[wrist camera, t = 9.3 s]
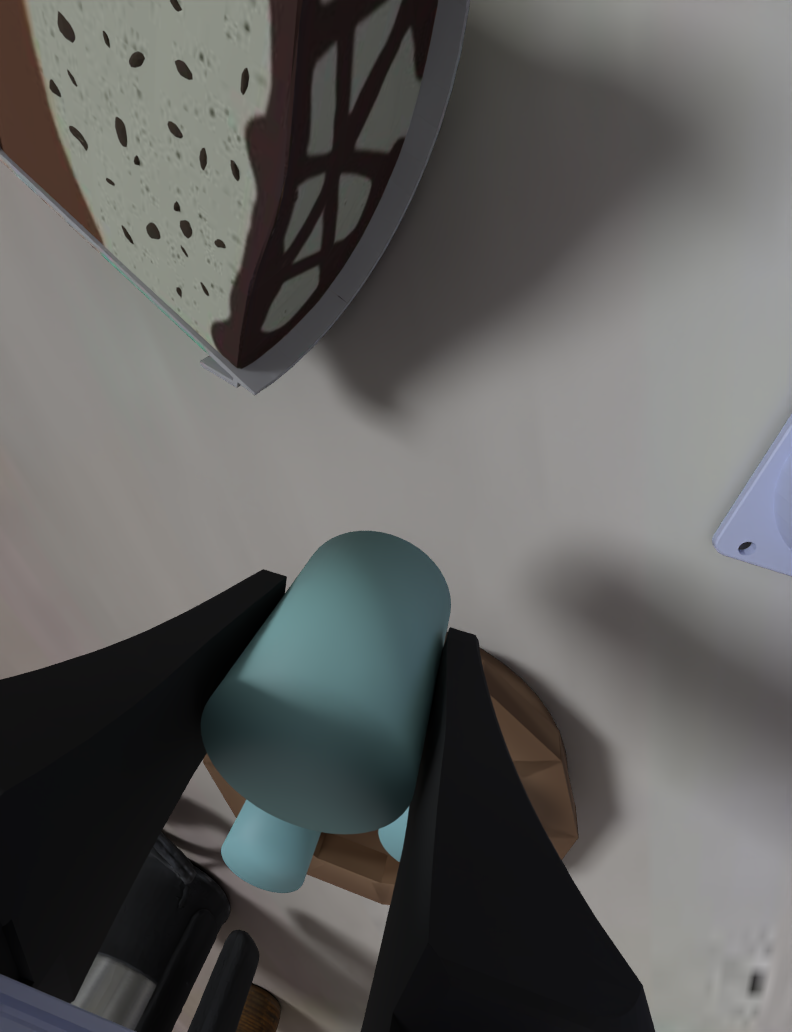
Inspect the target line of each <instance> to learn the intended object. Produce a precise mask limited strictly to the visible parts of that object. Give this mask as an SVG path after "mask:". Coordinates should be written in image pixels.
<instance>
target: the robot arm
mask: <svg viewBox="0 0 792 1032" xmlns="http://www.w3.org/2000/svg"><path fill="white" fill-rule="evenodd" d="M745 542H751V545H750V546H749V547H748V548H746V549H743V550H741V549H738V548H739V546H740V545H741V544H742V543H745ZM712 543H713V545H714V547H715V548H716V550H717V551H718V552H719V553H720V554H722V555H725V556H728V557H731V558H734V559H737V560H741V561H744V562H747V563H750V564H754V565H757V566H760V567H763V568H766V569H770V570H773V571H776V572H779V573H783V574H786V575H789V576H792V414H791V416H790V417H789V419H788V420H787V422H786V423H785V425H784V426H783V428H782V430H781V431H780V433H779V434H778V436H777V437H776V439H775V440H774V442H773V444H772V445H771V447H770V448H769V450H768V451H767V453H766V454H765V456H764V458H763V459H762V461H761V462H760V464H759V465H758V467H757V468H756V470H755V472H754V473H753V475H752V476H751V478H750V479H749V481H748V482H747V484H746V486H745V487H744V489H743V490H742V492H741V493H740V495H739V496H738V498H737V500H736V501H735V503H734V504H733V506H732V507H731V509H730V510H729V512H728V514H727V515H726V517H725V518H724V520H723V521H722V523H721V524H720V526H719V527H718V529H717V531H716V532H715V534H714V536H713V538H712ZM286 579H287V577H286V576H283V575H280V574H277V573H273V572H270V571H267V570H264V569H263V570H261V571H259V572H257V573H256V574H254V575H252V576H250V577H248V578H247V579H245V580H243V581H241V582H240V583H238V584H236V585H234V586H232V587H231V588H229V589H227V590H225V591H224V592H222V593H220V594H218V595H217V596H215V597H213V598H211V599H209V600H207V601H205V602H204V603H202V604H200V605H198V606H196V607H194V608H192V609H191V610H189V611H187V612H185V613H183V614H181V615H179V616H177V617H175V618H172V619H170V620H168V621H166V622H164V623H162V624H160V625H158V626H156V627H154V628H152V629H150V630H147V631H145V632H143V633H140V634H138V635H136V636H133V637H131V638H129V639H126V640H123V641H121V642H118V643H116V644H113V645H111V646H108V647H105V648H103V649H100V650H97V651H95V652H92V653H89V654H86V655H82V656H79V657H76V658H73V659H70V660H67V661H64V662H61V663H58V664H55V665H51V666H48V667H45V668H42V669H39V670H35V671H31V672H28V673H24V674H20V675H17V676H13V677H9V678H5V679H1V680H0V1032H136V1031H133V1030H131V1029H129V1028H126V1027H124V1026H122V1025H119V1024H117V1023H115V1022H112V1021H110V1020H107V1019H105V1018H103V1017H100V1016H98V1015H96V1014H93V1013H91V1012H89V1011H86V1010H84V1009H82V1008H79V1007H77V1006H75V1005H72V1004H70V1003H71V1002H73V1001H74V1000H75V998H76V996H77V994H78V992H79V990H80V988H81V986H82V984H83V982H84V980H85V978H86V976H87V974H88V972H89V970H90V968H91V966H92V964H93V962H94V960H95V958H96V956H97V954H98V952H99V950H100V948H101V946H102V944H103V942H104V940H105V938H106V936H107V934H108V932H109V930H110V928H111V926H112V924H113V922H114V920H115V918H116V916H117V914H118V912H119V910H120V908H121V906H122V904H123V902H124V900H125V899H126V897H127V895H128V893H129V891H130V889H131V887H132V885H133V883H134V881H135V879H136V878H137V876H138V874H139V872H140V870H141V868H142V866H143V864H144V862H145V860H146V859H147V857H148V855H149V853H150V851H151V849H152V848H153V846H154V844H155V842H156V840H157V838H158V837H159V835H160V833H161V831H162V829H163V827H164V826H165V824H166V822H167V820H168V818H169V816H170V815H171V813H172V811H173V809H174V808H175V806H176V804H177V802H178V800H179V799H180V797H181V795H182V793H183V792H184V790H185V788H186V786H187V785H188V783H189V781H190V779H191V778H192V776H193V774H194V772H195V771H196V769H197V768H198V766H199V765H200V763H201V761H202V760H203V758H204V757H205V755H206V754H207V752H206V749H205V747H204V744H203V740H202V735H201V718H202V713H203V710H204V707H205V705H206V703H207V702H208V700H209V698H210V697H211V696H212V694H213V693H214V691H215V690H216V689H217V687H218V686H219V684H220V683H221V682H222V680H223V679H224V678H225V676H226V675H227V673H228V672H229V671H230V669H231V668H232V666H233V665H234V664H235V662H236V661H237V660H238V658H239V657H240V655H241V654H242V653H243V651H244V650H245V648H246V647H247V646H248V644H249V643H250V642H251V640H252V639H253V637H254V636H255V635H256V633H257V632H258V630H259V629H260V628H261V626H262V625H263V623H264V622H265V621H266V619H267V618H268V617H269V615H270V614H271V612H272V611H273V610H274V608H275V607H276V605H277V604H278V603H279V601H280V600H281V599H282V597H283V596H284V594H285V587H286ZM361 1032H655V1029H654V1025H653V1022H652V1018H651V1014H650V1011H649V1007H648V1003H647V1000H646V996H645V992H644V989H643V985H642V984H641V982H640V981H639V979H638V978H637V976H636V975H635V974H634V972H633V971H632V969H631V968H630V966H629V965H628V963H627V962H626V961H625V959H624V958H623V956H622V955H621V953H620V952H619V950H618V949H617V948H616V946H615V945H614V943H613V942H612V940H611V939H610V938H609V936H608V935H607V933H606V932H605V930H604V929H603V927H602V926H601V925H600V923H599V921H598V920H597V918H596V917H595V915H594V914H593V912H592V910H591V909H590V907H589V906H588V904H587V902H586V901H585V899H584V898H583V896H582V894H581V893H580V891H579V889H578V888H577V886H576V885H575V883H574V881H573V880H572V878H571V876H570V874H569V873H568V871H567V869H566V867H565V865H564V864H563V862H562V860H561V858H560V857H559V855H558V853H557V851H556V849H555V848H554V846H553V844H552V842H551V840H550V839H549V837H548V835H547V833H546V831H545V830H544V828H543V826H542V824H541V822H540V820H539V818H538V816H537V814H536V812H535V810H534V808H533V806H532V804H531V802H530V800H529V797H528V795H527V793H526V791H525V789H524V786H523V784H522V782H521V780H520V778H519V775H518V773H517V771H516V768H515V766H514V763H513V761H512V758H511V756H510V753H509V751H508V748H507V745H506V742H505V740H504V737H503V734H502V732H501V729H500V726H499V723H498V720H497V717H496V713H495V710H494V707H493V703H492V700H491V697H490V693H489V690H488V686H487V682H486V678H485V674H484V670H483V665H482V660H481V655H480V648H479V640H478V639H477V637H476V635H473V634H470V633H467V632H464V631H460V630H457V629H454V628H451V627H450V628H449V631H448V634H447V637H446V640H445V643H444V646H443V650H442V655H441V659H440V664H439V669H438V674H437V679H436V685H435V692H434V697H433V702H432V707H431V712H430V717H429V722H428V727H427V732H426V737H425V742H424V747H423V752H422V757H421V762H420V767H419V772H418V777H417V782H416V787H415V791H414V795H413V799H412V801H411V803H410V805H409V812H408V819H407V826H406V832H405V838H404V844H403V849H402V854H401V859H400V863H399V868H398V872H397V877H396V881H395V886H394V890H393V895H392V899H391V903H390V908H389V912H388V917H387V921H386V926H385V930H384V934H383V939H382V943H381V948H380V952H379V956H378V961H377V965H376V969H375V974H374V978H373V982H372V987H371V991H370V995H369V1000H368V1004H367V1008H366V1012H365V1017H364V1021H363V1025H362V1029H361Z"/></svg>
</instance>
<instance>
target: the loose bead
mask: <svg viewBox="0 0 792 1032" xmlns="http://www.w3.org/2000/svg"><path fill="white" fill-rule="evenodd" d="M450 610H451V599H450V593H449V589H448V586H447V583H446V581H445V578H444V577H443V575H442V573H441V571H440V570H439V568H438V567H437V566H436V564H435V563H434V562H433V561H432V560H431V559H430V558H429V557H428V556H427V555H426V554H425V553H424V552H423V551H421V550H420V549H419V548H417V547H416V546H414V545H413V544H411V543H409V542H407V541H405V540H403V539H401V538H399V537H396V536H393V535H391V534H386V533H382V532H376V531H355V532H349V533H345V534H341V535H339V536H336V537H334V538H332V539H330V540H329V541H327V542H325V543H324V544H323V545H322V546H321V547H319V548H318V550H317V551H316V552H315V553H314V554H313V556H312V557H311V558H310V560H309V561H308V563H307V564H306V565H305V567H304V568H303V569H302V571H301V572H300V574H299V575H298V576H297V578H296V579H295V581H294V582H293V583H292V585H291V586H290V587H289V589H288V590H287V592H286V593H285V594H284V596H283V597H282V599H281V600H280V601H279V603H278V604H277V605H276V607H275V608H274V610H273V611H272V612H271V614H270V615H269V617H268V618H267V619H266V621H265V622H264V623H263V625H262V626H261V628H260V629H259V630H258V632H257V633H256V635H255V636H254V637H253V639H252V640H251V642H250V643H249V644H248V646H247V647H246V648H245V650H244V651H243V653H242V654H241V655H240V657H239V658H238V660H237V661H236V662H235V664H234V665H233V666H232V668H231V669H230V671H229V672H228V673H227V675H226V676H225V678H224V679H223V680H222V682H221V683H220V684H219V686H218V687H217V689H216V690H215V691H214V693H213V694H212V696H211V697H210V698H209V700H208V702H207V703H206V705H205V707H204V710H203V713H202V718H201V735H202V740H203V744H204V747H205V749H206V752H207V754H208V756H209V758H210V760H211V762H212V763H213V765H214V766H215V768H216V769H217V771H218V772H219V773H220V775H221V776H222V777H223V778H224V779H225V780H226V782H227V783H228V784H229V785H230V786H231V787H232V788H233V789H234V790H235V791H237V792H238V793H239V794H240V795H241V796H243V797H244V798H245V799H246V800H248V801H249V802H251V803H252V804H254V805H255V806H256V807H258V808H260V809H261V810H263V811H265V812H266V813H268V814H270V815H272V816H274V817H276V818H278V819H280V820H283V821H285V822H288V823H290V824H293V825H296V826H299V827H302V828H305V829H309V830H313V831H318V832H324V833H331V834H359V833H366V832H370V831H374V830H378V829H380V828H383V827H385V826H387V825H389V824H391V823H392V822H394V821H396V820H397V819H398V818H399V817H400V816H401V815H403V813H404V812H405V811H406V810H407V808H408V807H409V805H410V803H411V801H412V799H413V795H414V791H415V787H416V782H417V777H418V772H419V767H420V762H421V757H422V752H423V747H424V742H425V737H426V732H427V727H428V722H429V717H430V712H431V707H432V702H433V697H434V692H435V685H436V679H437V674H438V669H439V664H440V659H441V655H442V650H443V646H444V642H445V637H446V632H447V627H448V622H449V617H450Z"/></svg>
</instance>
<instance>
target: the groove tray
mask: <svg viewBox="0 0 792 1032" xmlns="http://www.w3.org/2000/svg"><path fill="white" fill-rule="evenodd" d="M447 634H448V633H447V632H446V637H447ZM446 637H445V640H446ZM444 643H445V642H444ZM480 655H481V660H482V665H483V670H484V674H485V678H486V682H487V686H488V690H489V693H490V697H491V700H492V703H493V707H494V710H495V713H496V717H497V720H498V723H499V726H500V729H501V732H502V734H503V737H504V740H505V742H506V745H507V748H508V751H509V753H510V756H511V758H512V761H513V763H514V766H515V768H516V771H517V773H518V775H519V778H520V780H521V782H522V784H523V786H524V789H525V791H526V793H527V795H528V797H529V800H530V802H531V804H532V806H533V808H534V810H535V812H536V814H537V816H538V818H539V820H540V822H541V824H542V826H543V828H544V830H545V831H546V833H547V835H548V837H549V839H550V840H551V842H552V844H553V846H554V848H555V849H556V851H557V853H558V855H559V857H560V858H561V860H562V859H563V857H564V856H565V855H566V853H567V852H568V851H569V849H570V848H571V847H572V845H573V844H574V843H575V841H576V840H577V839H578V827H577V817H576V807H575V803H574V798H573V794H572V789H571V784H570V780H569V775H568V767H567V758H566V751H565V747H564V744H563V741H562V738H561V734H560V732H559V730H558V728H557V726H556V724H555V722H554V720H553V718H552V716H551V714H550V713H549V712H548V710H547V709H546V707H545V706H544V704H543V703H542V702H541V700H540V699H539V697H538V696H537V695H536V694H535V693H534V692H533V691H532V690H531V689H530V687H529V686H528V685H527V684H526V683H525V682H524V681H523V680H522V679H521V678H520V677H519V676H517V675H516V674H515V673H514V672H513V671H511V670H510V669H509V668H508V667H507V666H506V665H504V664H503V663H502V662H500V661H499V660H497V659H496V658H494V657H493V656H491V655H490V654H488V653H487V652H485V651H484V650H482V649H480ZM203 763H204V765H205V766H206V768H207V770H208V771H209V773H210V775H211V776H212V778H213V780H214V782H215V783H216V785H217V787H218V788H219V790H220V792H221V793H222V795H223V797H224V798H225V800H226V802H227V803H228V805H229V807H230V808H231V810H232V812H233V813H234V815H235V817H236V818H237V817H238V815H239V813H240V811H241V809H242V807H243V805H244V803H245V801H246V799H245V798H244V797H243V796H241V795H240V794H239V793H238V792H237V791H235V790H234V789H233V788H232V787H231V786H230V785H229V784H228V783H227V782H226V780H225V779H224V778H223V777H222V776H221V775H220V773H219V772H218V771H217V769H216V768H215V766H214V765H213V763H212V762H211V760H210V758H209V756H208V754H206V755H205V757H204V759H203ZM378 830H379V829H378ZM378 830H374V831H370V832H366V833H359V834H331V833H324V832H321V834H320V837H319V840H318V843H317V845H316V848H315V851H314V854H313V857H312V859H311V862H310V865H309V868H308V871H307V873H306V874H307V875H310V876H312V877H315V878H318V879H320V880H323V881H325V882H328V883H330V884H333V885H335V886H338V887H340V888H343V889H345V890H348V891H350V892H353V893H355V894H358V895H360V896H363V897H366V898H368V899H371V900H373V901H376V902H378V903H381V904H385V905H390V903H391V899H392V895H393V890H394V886H395V881H396V877H397V872H398V868H399V863H400V862H398V861H397V860H396V859H394V858H393V857H392V856H391V855H390V854H389V853H388V852H387V851H386V850H385V848H384V847H383V845H382V843H381V841H380V839H379V834H378Z"/></svg>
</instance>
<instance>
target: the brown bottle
mask: <svg viewBox="0 0 792 1032" xmlns="http://www.w3.org/2000/svg"><path fill="white" fill-rule="evenodd" d="M280 1013H281V1008H280V1005H279V1003H278V1001H277V1000H276V999H275V998H274V997H273V996H272V995H271V994H270V993H268V992H267V991H265V990H263V989H262V988H260V987H258V986H255V985H253V984H251V987H250V990H249V993H248V996H247V999H246V1002H245V1005H244V1008H243V1012H242V1015H241V1018H240V1021H239V1024H238V1027H237V1030H236V1032H276V1030H277V1026H278V1023H279V1019H280Z"/></svg>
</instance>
